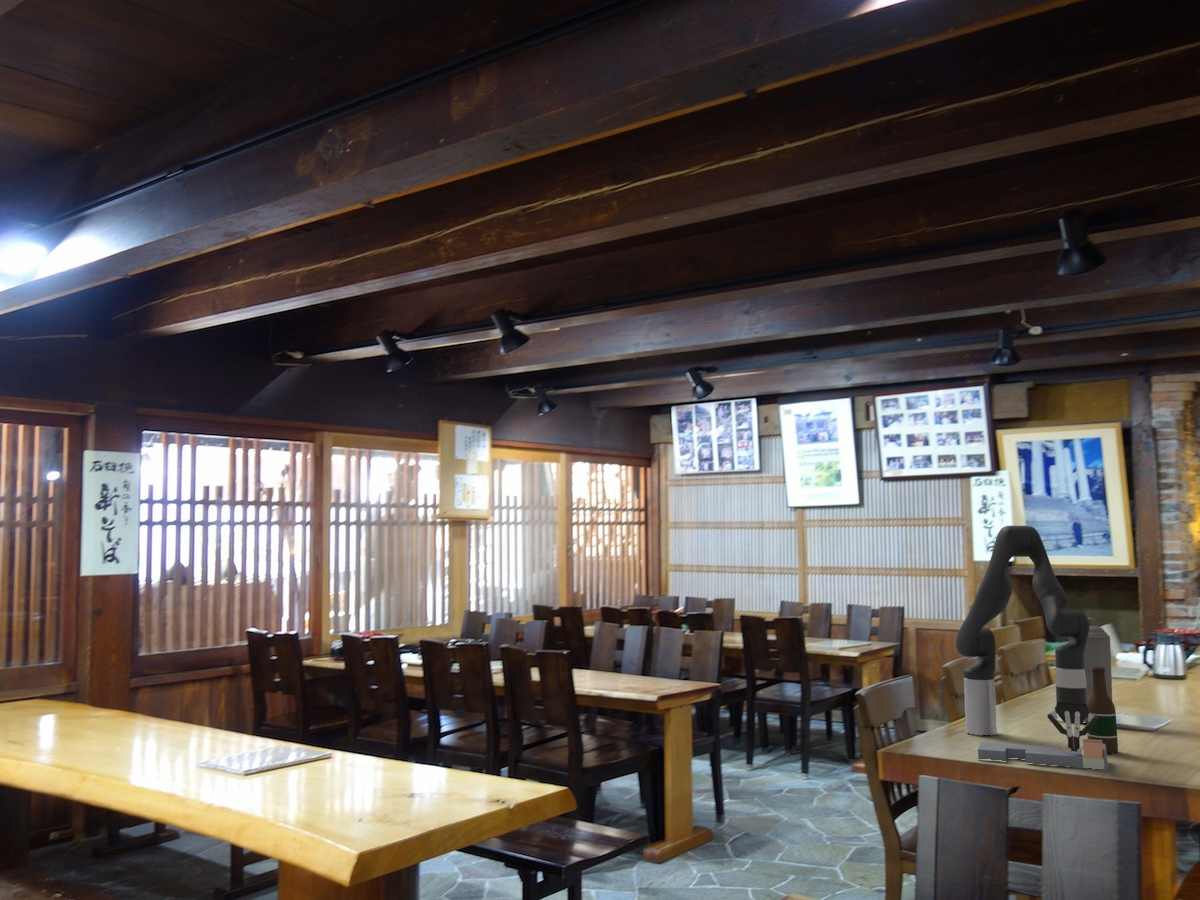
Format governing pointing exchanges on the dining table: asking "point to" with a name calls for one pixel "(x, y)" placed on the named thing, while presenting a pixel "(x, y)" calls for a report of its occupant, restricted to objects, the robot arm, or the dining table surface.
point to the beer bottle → (1102, 712)
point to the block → (1093, 748)
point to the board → (1041, 755)
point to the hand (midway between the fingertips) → (1074, 750)
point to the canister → (1097, 657)
